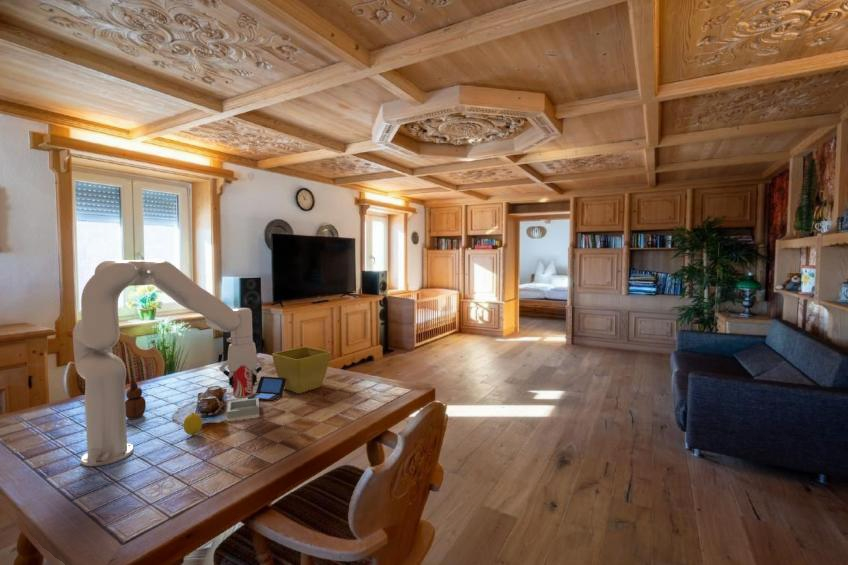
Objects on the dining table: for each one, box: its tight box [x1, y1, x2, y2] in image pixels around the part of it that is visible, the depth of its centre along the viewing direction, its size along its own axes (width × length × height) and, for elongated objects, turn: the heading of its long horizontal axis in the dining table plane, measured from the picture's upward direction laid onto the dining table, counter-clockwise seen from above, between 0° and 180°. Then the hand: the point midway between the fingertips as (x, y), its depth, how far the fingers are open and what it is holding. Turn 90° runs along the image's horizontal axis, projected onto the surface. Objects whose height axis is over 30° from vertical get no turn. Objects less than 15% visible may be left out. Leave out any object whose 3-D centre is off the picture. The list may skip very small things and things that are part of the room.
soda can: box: [232, 365, 254, 400], centre depth 155 cm, size 7×7×13 cm
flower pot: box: [272, 346, 331, 394], centre depth 186 cm, size 19×19×17 cm
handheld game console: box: [247, 375, 286, 402], centre depth 174 cm, size 12×11×7 cm
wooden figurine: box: [125, 379, 147, 420], centre depth 151 cm, size 7×6×15 cm
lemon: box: [183, 412, 203, 437], centre depth 136 cm, size 6×6×8 cm
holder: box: [226, 398, 260, 422], centre depth 156 cm, size 13×11×4 cm
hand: (243, 385), depth 155 cm, fingers closed on soda can, 7 cm apart
